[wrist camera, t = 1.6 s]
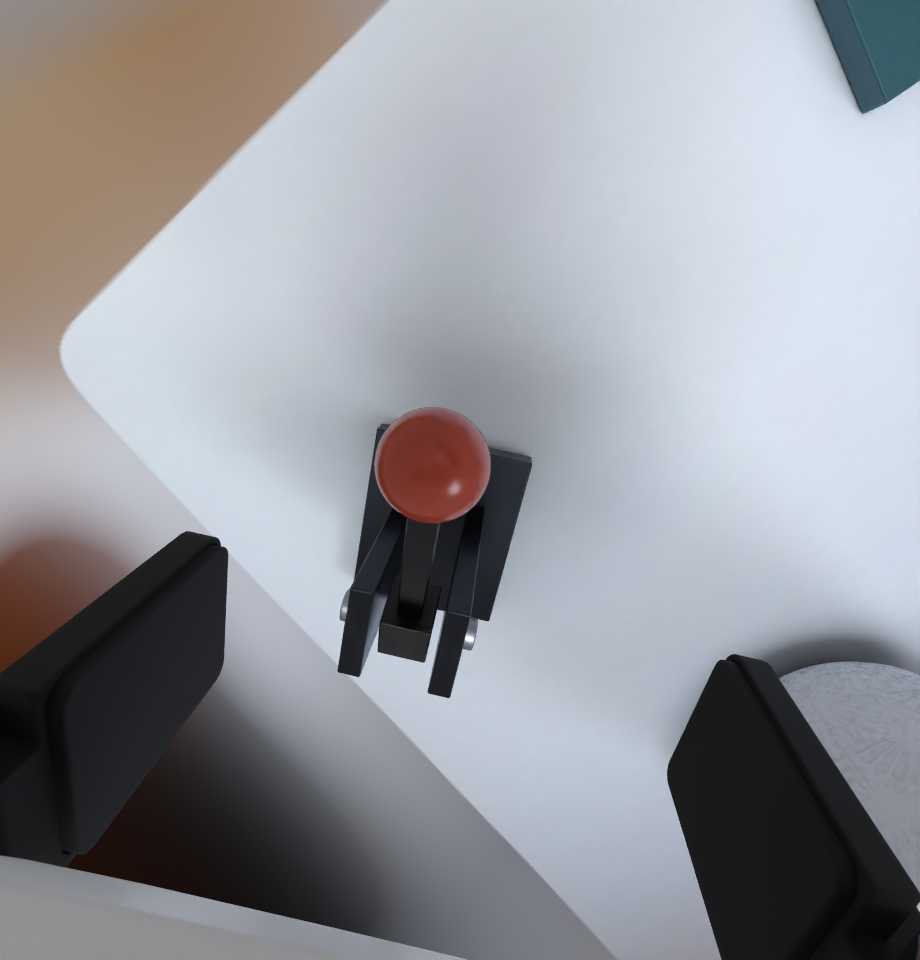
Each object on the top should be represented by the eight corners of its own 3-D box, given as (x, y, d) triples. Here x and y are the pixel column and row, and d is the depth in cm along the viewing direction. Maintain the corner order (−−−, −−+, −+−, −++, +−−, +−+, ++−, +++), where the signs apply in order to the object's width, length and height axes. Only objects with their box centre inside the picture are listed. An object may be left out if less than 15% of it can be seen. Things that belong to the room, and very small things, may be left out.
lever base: (381, 423, 31) (309, 503, 20) (531, 457, 31) (541, 557, 20) (357, 580, 35) (286, 718, 24) (489, 611, 35) (478, 763, 24)
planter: (794, 845, 40) (948, 1158, 26) (636, 720, 37) (710, 995, 23) (1019, 725, 34) (1372, 1041, 20) (852, 567, 31) (1126, 805, 17)
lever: (394, 372, 16) (359, 450, 14) (507, 397, 16) (492, 480, 14) (380, 592, 26) (358, 661, 24) (451, 609, 26) (436, 680, 24)
